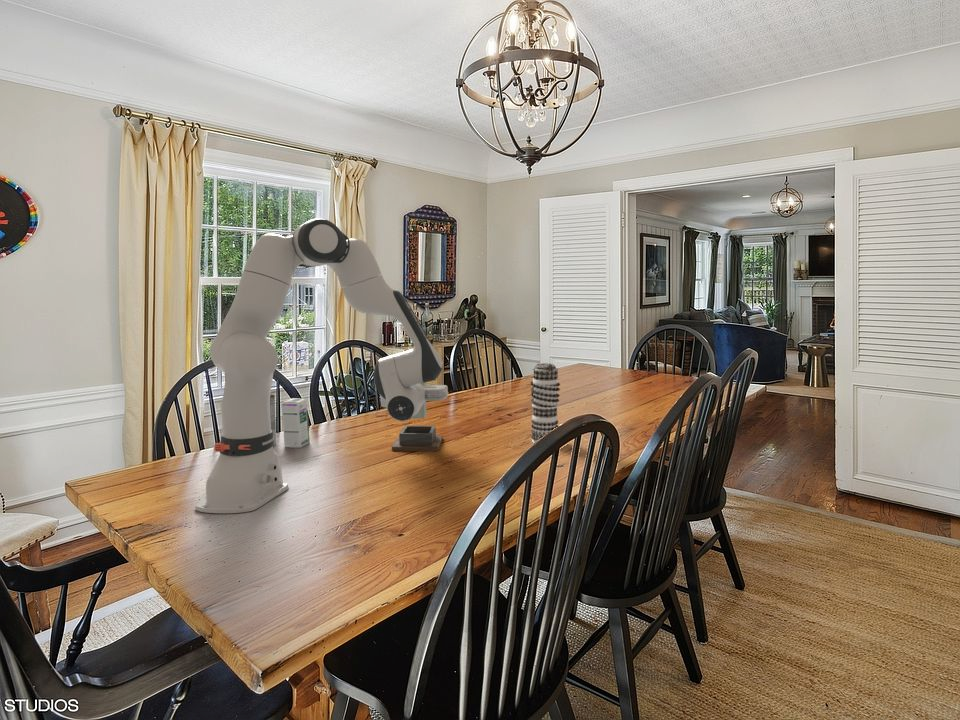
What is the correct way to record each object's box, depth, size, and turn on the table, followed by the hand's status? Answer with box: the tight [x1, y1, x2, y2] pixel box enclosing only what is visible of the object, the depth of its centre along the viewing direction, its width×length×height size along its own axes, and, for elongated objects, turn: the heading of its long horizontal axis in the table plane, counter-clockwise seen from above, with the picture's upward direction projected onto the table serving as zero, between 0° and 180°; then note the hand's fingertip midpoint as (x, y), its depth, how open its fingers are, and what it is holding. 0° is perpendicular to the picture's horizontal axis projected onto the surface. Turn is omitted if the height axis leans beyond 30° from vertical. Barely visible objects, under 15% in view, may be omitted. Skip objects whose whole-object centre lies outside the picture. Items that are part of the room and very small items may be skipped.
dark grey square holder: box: [391, 425, 444, 452], centre depth 180 cm, size 14×14×5 cm
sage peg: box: [412, 382, 427, 419], centre depth 178 cm, size 5×5×15 cm
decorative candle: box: [530, 362, 561, 444], centre depth 181 cm, size 9×9×25 cm
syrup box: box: [281, 397, 311, 449], centre depth 179 cm, size 6×6×14 cm
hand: (417, 387), depth 179 cm, fingers closed on sage peg, 5 cm apart
